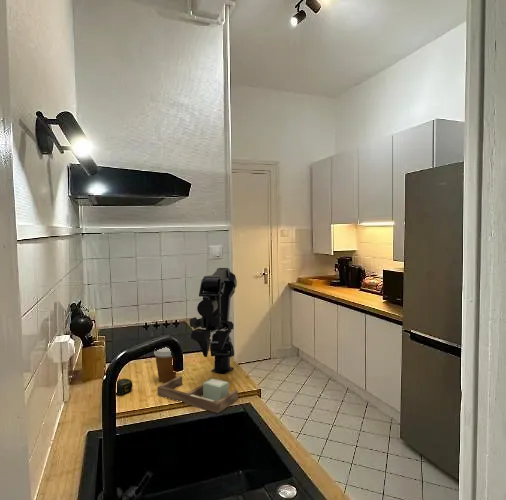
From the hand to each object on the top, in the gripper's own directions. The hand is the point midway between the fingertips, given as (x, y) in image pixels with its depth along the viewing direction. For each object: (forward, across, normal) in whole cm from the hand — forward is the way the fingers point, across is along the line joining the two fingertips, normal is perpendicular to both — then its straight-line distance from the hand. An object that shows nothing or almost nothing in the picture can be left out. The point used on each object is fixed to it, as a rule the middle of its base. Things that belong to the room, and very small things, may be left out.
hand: (213, 353), depth 135 cm
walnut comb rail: (+12, +10, +1) cm, 16 cm away
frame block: (+12, +8, +7) cm, 16 cm away
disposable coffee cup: (+12, +4, -19) cm, 23 cm away
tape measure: (+12, +21, -25) cm, 35 cm away
